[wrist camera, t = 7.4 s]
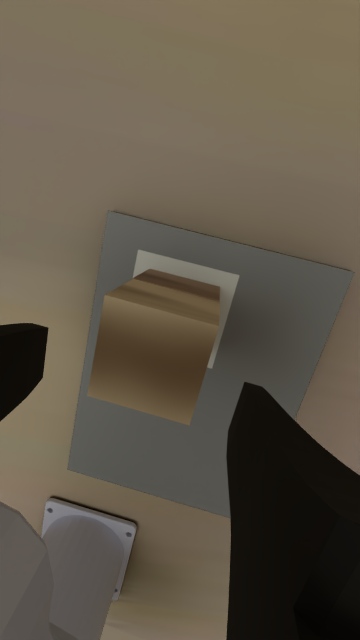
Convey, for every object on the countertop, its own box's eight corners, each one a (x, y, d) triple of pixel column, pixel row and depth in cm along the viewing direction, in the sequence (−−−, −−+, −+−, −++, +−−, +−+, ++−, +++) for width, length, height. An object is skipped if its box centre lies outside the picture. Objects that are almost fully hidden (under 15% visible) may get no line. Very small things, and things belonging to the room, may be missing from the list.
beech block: (196, 381, 17) (189, 425, 13) (117, 358, 17) (86, 395, 13) (220, 302, 16) (219, 326, 12) (132, 278, 16) (104, 295, 12)
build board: (250, 515, 25) (251, 525, 24) (71, 462, 26) (66, 470, 25) (349, 270, 19) (355, 272, 18) (112, 211, 20) (107, 210, 19)
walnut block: (201, 352, 21) (197, 380, 17) (136, 334, 21) (117, 358, 17) (220, 286, 19) (219, 300, 16) (149, 268, 20) (132, 278, 16)
